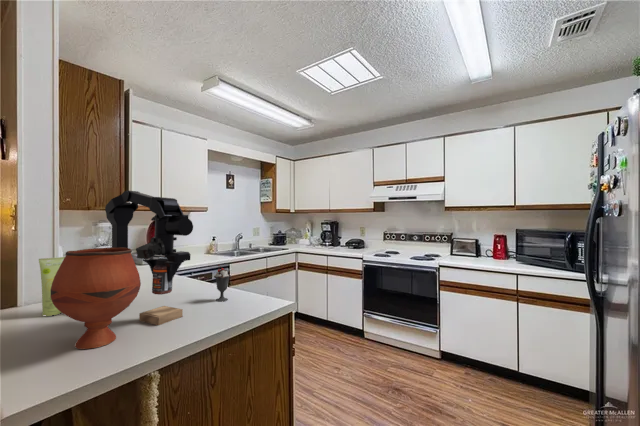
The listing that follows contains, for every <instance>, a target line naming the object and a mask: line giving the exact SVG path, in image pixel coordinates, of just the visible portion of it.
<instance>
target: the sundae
mask: <svg viewBox="0 0 640 426" xmlns="http://www.w3.org/2000/svg"><path fill="white" fill-rule="evenodd" d="M217 266H218V267H219V268H218V269H217V272H216V273H215V275H214V276H213V277H214V279H215V283H216V289H217V291H219V293H220V296H219V298H216V299H215V301H216V302H217V303H219V302H222V301H223V302H226V301H229V298H227V297H225V296H224V293H225V291H226V290H227V289H228V287H229V281H230V277H231V276H232V275H231V270H228V271H227V269H225V268H223V267H221V266H220V264H217ZM220 268H221V269H220Z"/></svg>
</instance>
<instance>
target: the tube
mask: <svg viewBox="0 0 640 426" xmlns="http://www.w3.org/2000/svg"><path fill="white" fill-rule="evenodd" d="M64 258H65V256H62V257H61V256H58V257H45V258H38V263H39V269H40V270H39V271H40V280H41V301H42V304H41V305H42V306H41V307H42V316H43V315H46V316H45V317H53V316H52V315H54V316H57V315H61V314H62V313H61V312H60V311H59V310H58V309H57V308H56V307H55V306H54V304H53V302H52V300H51V286H52V282H53V280H54V277H55V275H56V273H57V271H58V269H59V267H60V265H61V263H62V262H63V260H64ZM60 313H61V314H60Z"/></svg>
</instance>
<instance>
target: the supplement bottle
mask: <svg viewBox="0 0 640 426" xmlns="http://www.w3.org/2000/svg"><path fill="white" fill-rule="evenodd" d="M167 261H168V259H167V258H163V259H157V264H156V266H154V268H153V274H152V283H151V284H152V285H151V286H152V287H151V292H152V294H153V295H158V296H159V295H166V294H170V293H172V291H173V280H174V278H173V279H172V281H171V282H168V281H167V266H166V265H165V264H164V263H163V262H167Z"/></svg>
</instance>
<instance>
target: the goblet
mask: <svg viewBox="0 0 640 426" xmlns="http://www.w3.org/2000/svg"><path fill="white" fill-rule="evenodd" d="M132 251H133V250H132V249H131V248H129V247H128V248H124V247H112V246H110V247H96V248H95V247H94V248H85V249H78V250H67V251H65V256H64V257H65V258H64V260H63V262H62V263H61V265H60V267H59V269H58V271H57V273H56V275H55V277H54V280H53V282H52V286H51V300H52V302H53V304H54V306H55V307H56V308H57V309H58V310H59V311H60V312H61V314H62V315H65V317H68V318H70V319H72V320H74V321H77V322H80V323H81V322H82V323H84V327H85V328H86V330H85V332H84V333H83V334H82V335H81V336H80V337H79V338H78V339H77V340H76V342H75V344H74V347H75V349H77V350H89V349H95V348H99V347H104V346H107V345H109V344H111V343H112V342H114V341H116V340H117V335H116V334H115V332H114V331H113V330H111V329H110V328H109V326H110V325H111V324H112V323H113V320H112V319H113V318H115V317H116V316H118V315H119V314H122V312H124V311H125V310H126V309H127V308H128V307H130V305H131V303H133V301H134V300H135V299H136V298H137V296H138V294H139V292H140V289H141V284H142V282H141V277H140V272H139V270H138V268H137V266H136V263H135V260H134V258H133V256H132Z"/></svg>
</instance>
